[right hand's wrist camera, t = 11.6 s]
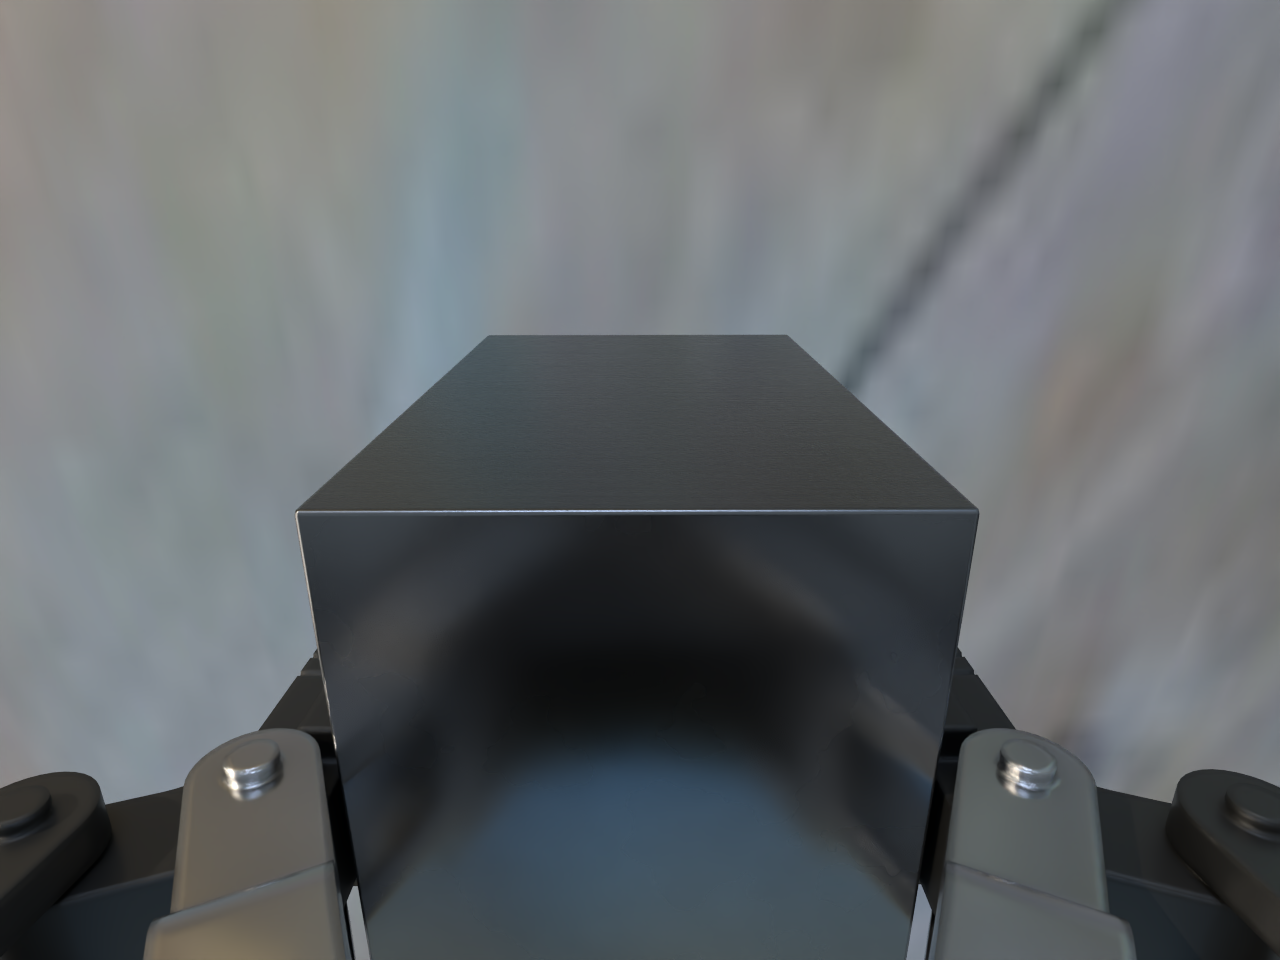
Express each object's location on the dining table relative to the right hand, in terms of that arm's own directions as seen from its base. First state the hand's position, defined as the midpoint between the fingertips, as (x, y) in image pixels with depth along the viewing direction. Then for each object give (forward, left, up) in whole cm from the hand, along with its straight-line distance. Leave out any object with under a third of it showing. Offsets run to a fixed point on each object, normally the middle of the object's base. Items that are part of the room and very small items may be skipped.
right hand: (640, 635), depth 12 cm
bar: (+2, +8, -5) cm, 10 cm away
